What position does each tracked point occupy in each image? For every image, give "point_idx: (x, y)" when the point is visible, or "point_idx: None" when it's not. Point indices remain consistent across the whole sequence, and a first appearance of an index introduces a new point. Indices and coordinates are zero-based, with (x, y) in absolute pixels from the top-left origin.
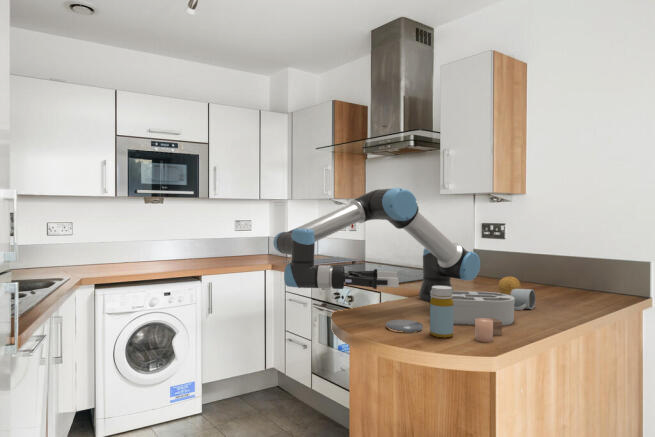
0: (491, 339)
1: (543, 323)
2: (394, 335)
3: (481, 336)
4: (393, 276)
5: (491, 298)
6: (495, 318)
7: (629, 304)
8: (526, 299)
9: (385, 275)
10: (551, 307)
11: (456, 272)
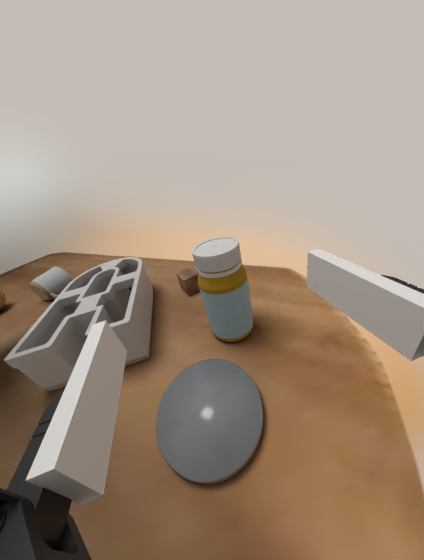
0: None
1: None
2: (297, 412)
3: None
4: (114, 352)
5: (118, 271)
6: (179, 272)
7: (74, 253)
8: (68, 277)
9: (100, 396)
10: None
11: None
